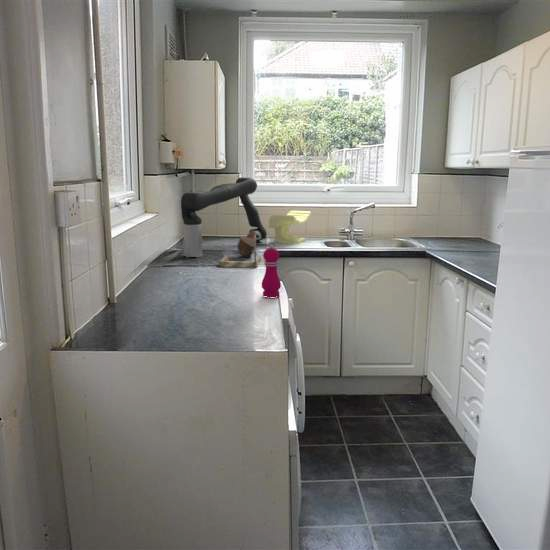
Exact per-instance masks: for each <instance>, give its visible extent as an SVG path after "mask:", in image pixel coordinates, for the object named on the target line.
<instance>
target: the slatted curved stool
mask: <svg viewBox="0 0 550 550" xmlns="http://www.w3.org/2000/svg"><path fill="white" fill-rule="evenodd" d="M310 217H312V211H309V210H290V211H288V212H287V213H286V214H285V215H279V214H278V215H277V214H273V215H271V216H270V217H269V220H268V228H274V234H275V236H274V237H275V240H276V241H277V242H278V243H279V244H291V243H295V245H300V244H302V243H305V242H306V241H307V240H306V238H305V237H297V236H293V235H291V234H290V233H289V229H290V226H291V225H300V224H303V223H306V222H307V221H308V220H309V218H310Z"/></svg>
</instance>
